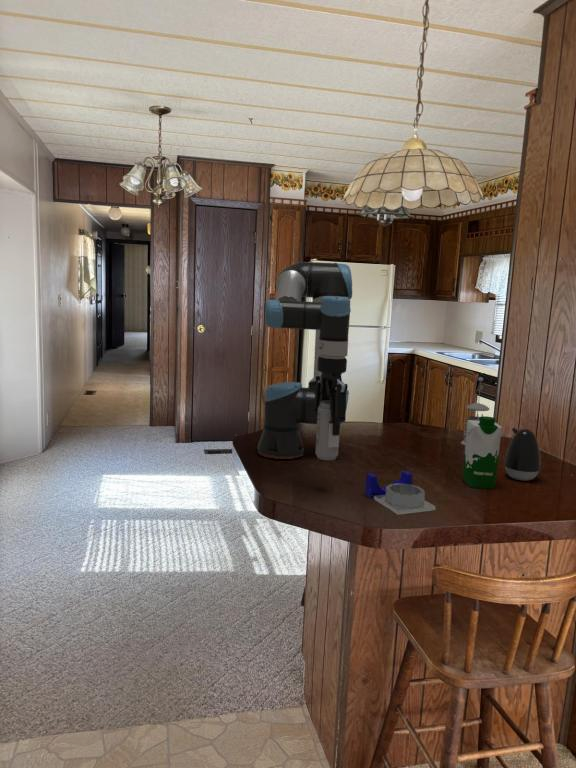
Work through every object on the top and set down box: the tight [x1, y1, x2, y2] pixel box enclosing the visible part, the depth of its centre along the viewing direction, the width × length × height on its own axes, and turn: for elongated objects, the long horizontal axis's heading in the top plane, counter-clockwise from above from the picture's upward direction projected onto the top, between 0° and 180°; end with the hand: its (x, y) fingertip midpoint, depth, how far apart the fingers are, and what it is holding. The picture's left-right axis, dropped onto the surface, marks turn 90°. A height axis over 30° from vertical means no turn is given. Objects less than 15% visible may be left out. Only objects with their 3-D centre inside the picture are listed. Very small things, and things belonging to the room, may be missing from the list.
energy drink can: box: [315, 400, 340, 461], centre depth 152 cm, size 6×6×15 cm
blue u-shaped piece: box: [364, 470, 413, 499], centre depth 153 cm, size 12×4×6 cm, turn 108°
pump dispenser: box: [503, 427, 542, 482], centre depth 172 cm, size 10×10×15 cm
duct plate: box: [373, 483, 436, 516], centre depth 146 cm, size 11×11×4 cm
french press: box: [460, 377, 490, 446], centre depth 209 cm, size 10×12×25 cm
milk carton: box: [462, 415, 503, 490], centre depth 164 cm, size 9×9×20 cm
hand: (327, 443), depth 152 cm, fingers closed on energy drink can, 6 cm apart
